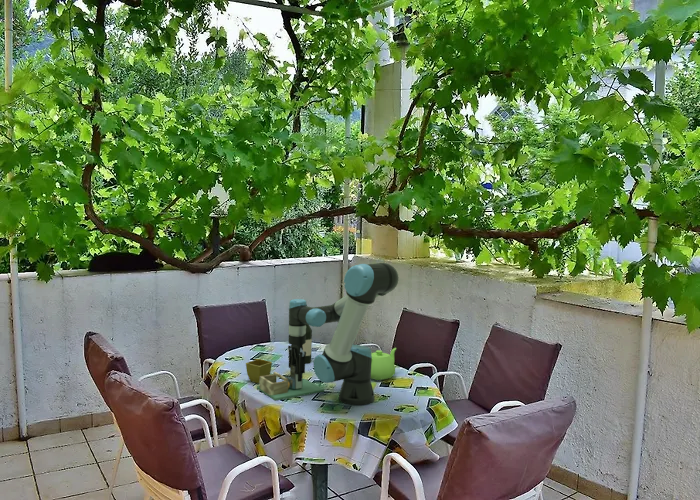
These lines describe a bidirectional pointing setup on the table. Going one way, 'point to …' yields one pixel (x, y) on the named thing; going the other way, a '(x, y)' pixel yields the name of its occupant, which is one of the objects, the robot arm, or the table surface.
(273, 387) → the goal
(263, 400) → the table surface
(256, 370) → the flower pot
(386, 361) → the teapot
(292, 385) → the block
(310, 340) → the wine bottle
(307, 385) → the board
